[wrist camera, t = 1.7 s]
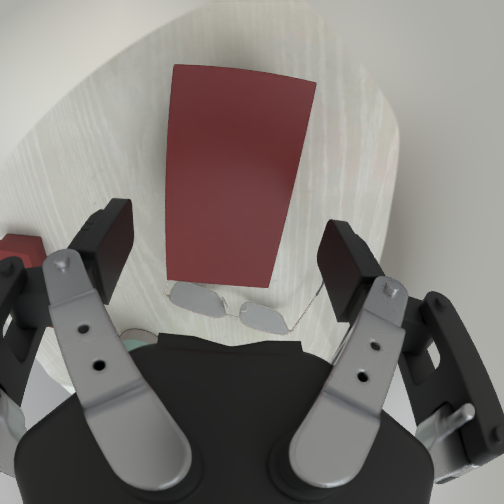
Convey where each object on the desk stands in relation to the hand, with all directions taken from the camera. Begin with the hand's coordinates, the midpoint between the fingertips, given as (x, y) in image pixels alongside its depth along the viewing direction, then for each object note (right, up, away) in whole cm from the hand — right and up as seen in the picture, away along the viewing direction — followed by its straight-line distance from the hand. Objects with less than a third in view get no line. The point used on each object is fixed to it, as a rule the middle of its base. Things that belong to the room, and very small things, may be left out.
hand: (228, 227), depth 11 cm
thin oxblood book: (0, +3, +4) cm, 5 cm away
